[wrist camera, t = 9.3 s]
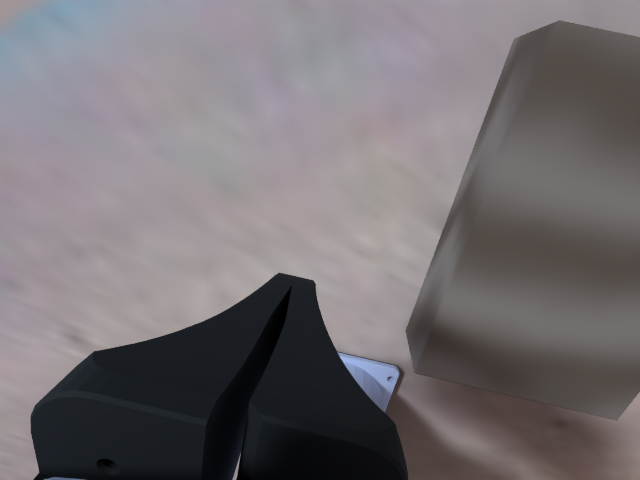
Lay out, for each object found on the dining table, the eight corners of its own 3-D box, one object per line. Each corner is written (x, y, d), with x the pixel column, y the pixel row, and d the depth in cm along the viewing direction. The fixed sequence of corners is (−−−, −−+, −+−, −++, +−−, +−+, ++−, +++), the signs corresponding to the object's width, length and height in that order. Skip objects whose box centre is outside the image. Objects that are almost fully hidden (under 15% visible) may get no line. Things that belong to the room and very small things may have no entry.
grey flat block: (575, 370, 23) (616, 420, 20) (405, 330, 23) (414, 373, 20) (760, 90, 16) (879, 87, 12) (514, 38, 16) (559, 20, 13)
